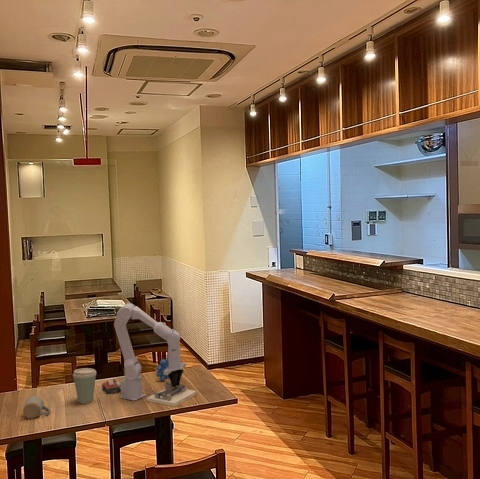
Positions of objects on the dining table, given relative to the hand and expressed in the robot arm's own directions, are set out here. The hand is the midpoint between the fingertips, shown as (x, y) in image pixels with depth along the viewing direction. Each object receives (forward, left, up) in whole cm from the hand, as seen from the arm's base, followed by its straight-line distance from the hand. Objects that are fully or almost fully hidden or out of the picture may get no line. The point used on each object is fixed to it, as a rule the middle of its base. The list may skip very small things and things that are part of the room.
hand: (175, 385), depth 242 cm
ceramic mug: (-41, -45, -5) cm, 62 cm away
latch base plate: (0, -3, -5) cm, 5 cm away
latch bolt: (-6, +3, 0) cm, 7 cm away
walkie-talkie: (-36, -5, -5) cm, 37 cm away
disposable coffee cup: (-34, -24, -5) cm, 42 cm away
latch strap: (0, -3, -2) cm, 3 cm away
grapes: (-19, +17, -5) cm, 26 cm away
